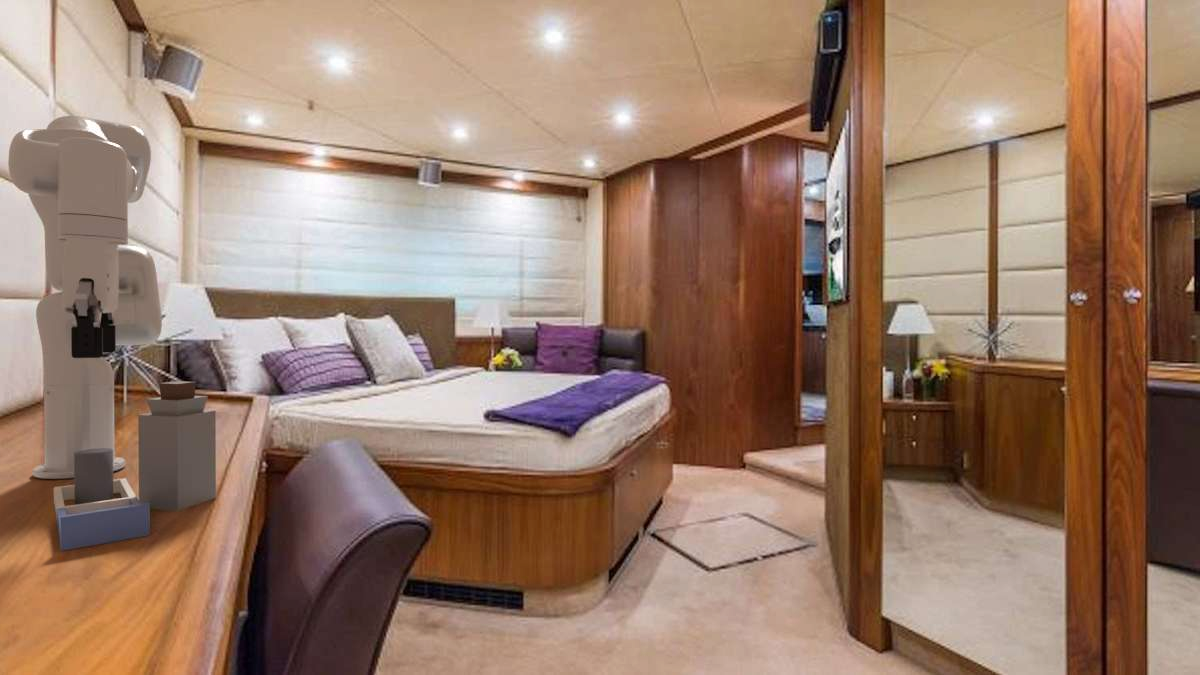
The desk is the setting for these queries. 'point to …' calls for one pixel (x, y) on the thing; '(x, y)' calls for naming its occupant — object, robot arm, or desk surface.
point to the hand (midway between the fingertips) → (94, 354)
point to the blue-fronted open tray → (100, 517)
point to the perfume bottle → (177, 449)
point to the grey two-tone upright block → (93, 475)
